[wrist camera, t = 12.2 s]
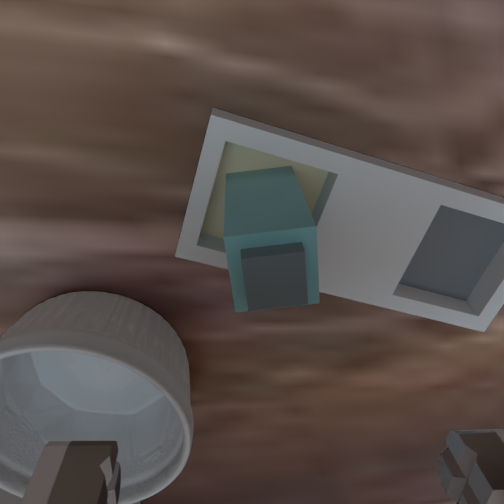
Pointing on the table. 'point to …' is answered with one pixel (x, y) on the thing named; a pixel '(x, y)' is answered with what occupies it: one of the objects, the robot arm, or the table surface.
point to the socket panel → (363, 223)
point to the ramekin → (95, 389)
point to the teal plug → (269, 241)
